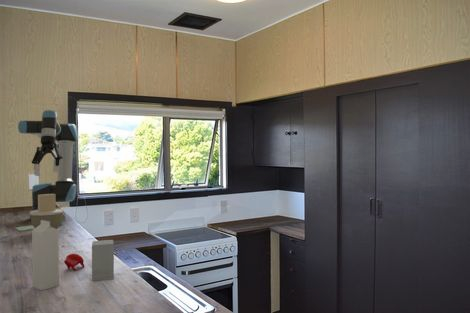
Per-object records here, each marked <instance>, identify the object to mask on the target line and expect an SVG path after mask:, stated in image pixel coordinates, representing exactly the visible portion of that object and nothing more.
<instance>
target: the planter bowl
mask: <svg viewBox="0 0 470 313" xmlns="http://www.w3.org/2000/svg"><path fill="white" fill-rule="evenodd" d="M62 215H64V212H63V213H61V214H56V215H45V216H34V215H31V220H30V221H31V224H32V225H33V226H34V228H36V227H38V226H39V225H40V224H41V220H44V221H49V222H50V226H51V227H53V228H55V229H58V228H59V227H60V226H61V225H60V224H61V221H62ZM58 230H59V229H58Z"/></svg>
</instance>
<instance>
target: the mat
mask: <svg viewBox="0 0 470 313" xmlns="http://www.w3.org/2000/svg"><path fill="white" fill-rule="evenodd" d="M14 229H16V230H17V231H18V232H26V231H32V230H34V229H35V228H34V226H33V224H32V225H25V226H18V227H17V226H16V227H14Z"/></svg>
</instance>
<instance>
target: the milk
mask: <svg viewBox="0 0 470 313" xmlns="http://www.w3.org/2000/svg"><path fill="white" fill-rule="evenodd" d="M59 239H60V238H59V229H55V228H53V227H51V226H50V222H49V221H44V220H41V224H40V225H39V226H38V227H36V228H35V229H34V230H31V242H32V244H31V245H32V246H31V247H32V248H31V249H32V250H31V252H32V253H31V254H32V255H31V256H32V258H31V259H32V261H31V262H32V287H33V288H35V289H37V290H39V291H45V290H48V289H51V288H54V287H55V288H56V287H58V286H60V261H59V260H60V255H59V254H60V252H59V250H60V248H59V246H60V245H59V242H60V241H59Z"/></svg>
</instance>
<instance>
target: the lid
mask: <svg viewBox="0 0 470 313" xmlns="http://www.w3.org/2000/svg"><path fill="white" fill-rule="evenodd" d="M56 204H57V202H56V194H43V195H38V210H33V211H29V216H30V215H34V216H45V215H56V214H61V213H63V214H64V212H65V209H64V208H61V209H59V208H56V207H57V206H56Z"/></svg>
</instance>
